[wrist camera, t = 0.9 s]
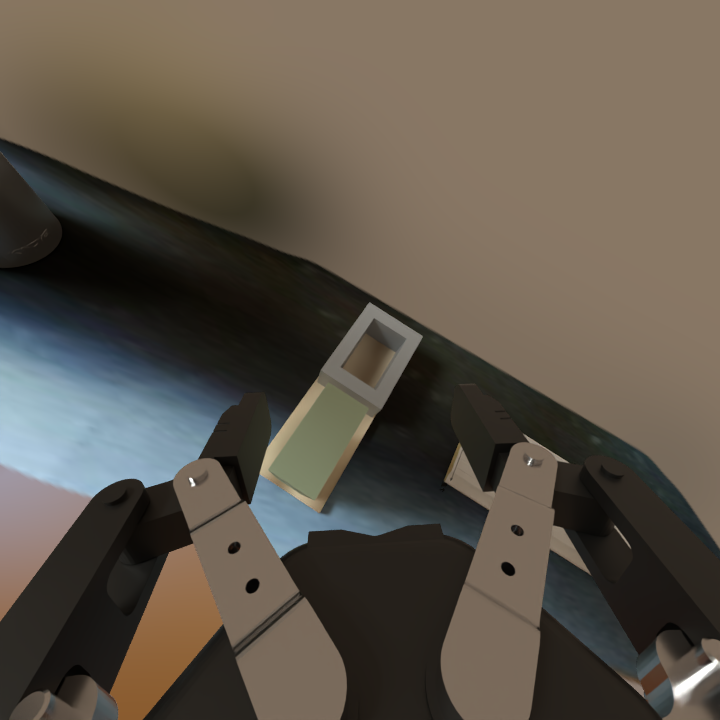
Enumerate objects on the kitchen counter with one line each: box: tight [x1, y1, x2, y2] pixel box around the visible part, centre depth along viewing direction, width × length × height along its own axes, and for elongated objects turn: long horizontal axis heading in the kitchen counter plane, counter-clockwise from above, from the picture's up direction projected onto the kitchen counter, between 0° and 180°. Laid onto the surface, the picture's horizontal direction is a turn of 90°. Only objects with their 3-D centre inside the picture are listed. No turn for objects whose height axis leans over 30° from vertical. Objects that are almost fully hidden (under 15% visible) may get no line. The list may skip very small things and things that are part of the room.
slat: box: [268, 382, 369, 501], centre depth 25 cm, size 3×6×16 cm, turn 150°
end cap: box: [317, 302, 423, 417], centre depth 36 cm, size 8×10×4 cm
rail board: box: [260, 334, 396, 513], centre depth 36 cm, size 8×22×1 cm, turn 150°
